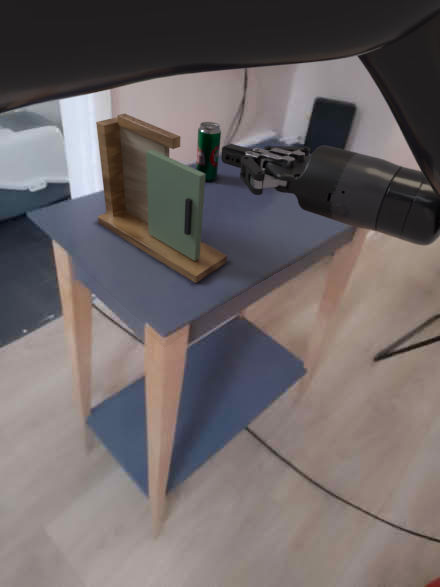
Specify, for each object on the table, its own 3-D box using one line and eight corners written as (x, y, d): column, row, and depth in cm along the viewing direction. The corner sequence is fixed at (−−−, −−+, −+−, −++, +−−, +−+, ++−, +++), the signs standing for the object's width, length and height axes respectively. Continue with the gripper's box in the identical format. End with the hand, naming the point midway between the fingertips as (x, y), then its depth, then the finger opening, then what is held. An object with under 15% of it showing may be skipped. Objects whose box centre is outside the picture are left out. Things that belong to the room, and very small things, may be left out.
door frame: (195, 283, 63) (203, 170, 50) (98, 223, 74) (84, 117, 61) (226, 262, 68) (240, 154, 55) (131, 209, 79) (124, 108, 66)
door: (192, 262, 64) (196, 177, 54) (145, 235, 69) (142, 152, 59) (199, 258, 65) (205, 173, 55) (153, 231, 70) (151, 149, 60)
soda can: (192, 173, 93) (195, 121, 86) (212, 172, 95) (217, 120, 87) (199, 182, 90) (202, 129, 82) (219, 181, 92) (225, 128, 84)
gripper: (379, 140, 46) (254, 113, 54) (332, 172, 37) (192, 133, 45) (362, 200, 50) (250, 167, 58) (317, 240, 42) (192, 195, 50)
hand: (225, 152), depth 52 cm, fingers closed
